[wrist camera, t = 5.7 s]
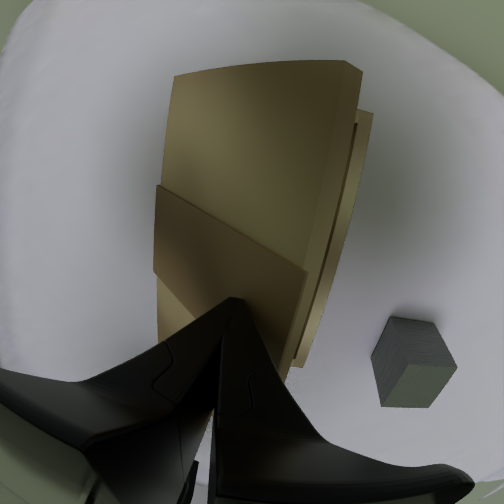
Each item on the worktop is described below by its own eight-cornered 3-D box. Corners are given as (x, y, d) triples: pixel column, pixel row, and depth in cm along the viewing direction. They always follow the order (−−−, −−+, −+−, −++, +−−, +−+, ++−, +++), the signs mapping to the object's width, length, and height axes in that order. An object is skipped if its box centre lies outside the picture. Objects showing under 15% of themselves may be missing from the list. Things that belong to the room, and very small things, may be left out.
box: (303, 326, 20) (302, 368, 16) (192, 302, 21) (171, 338, 17) (355, 118, 15) (373, 113, 11) (215, 94, 15) (191, 83, 11)
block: (412, 362, 20) (428, 407, 16) (370, 358, 21) (381, 406, 16) (434, 323, 19) (457, 367, 14) (390, 316, 19) (408, 364, 15)
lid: (263, 448, 11) (247, 458, 11) (168, 340, 17) (155, 344, 17) (370, 72, 6) (349, 59, 5) (188, 79, 11) (169, 76, 11)
